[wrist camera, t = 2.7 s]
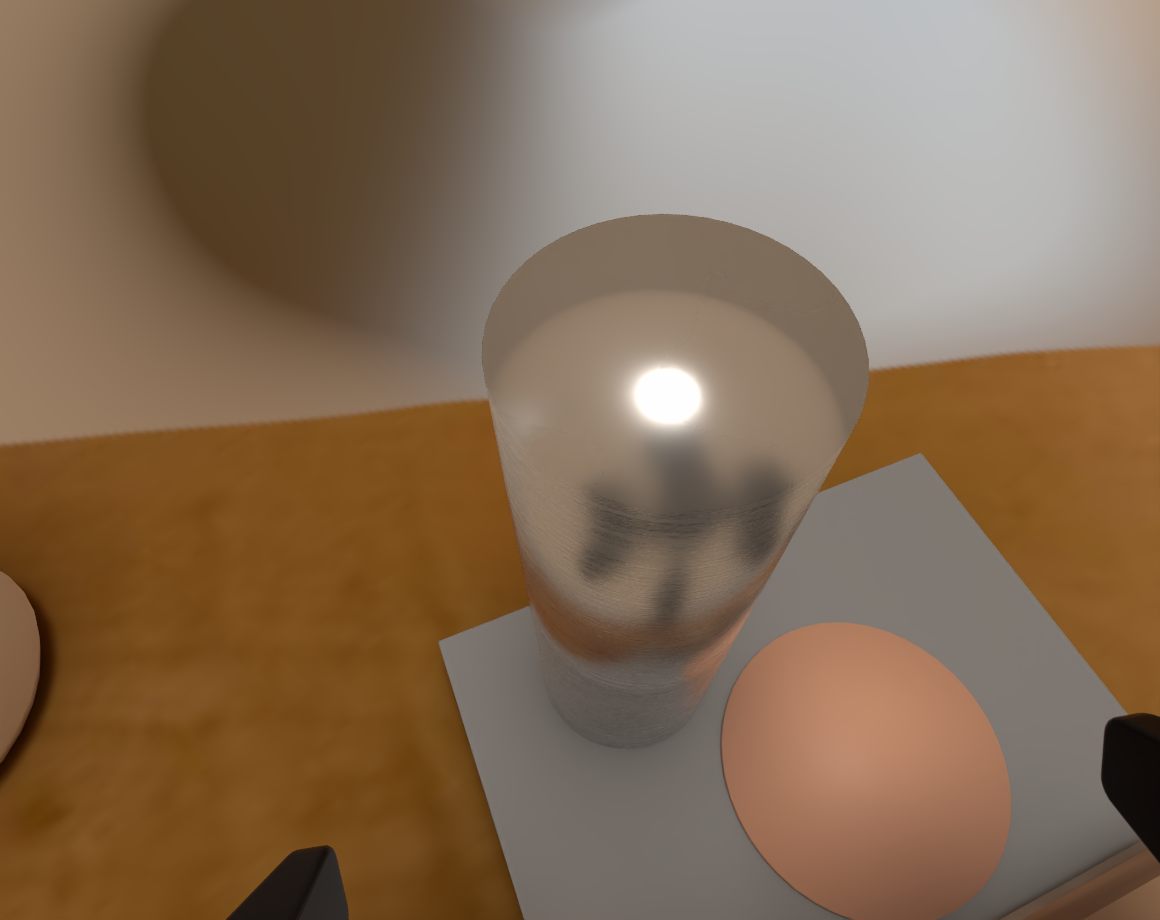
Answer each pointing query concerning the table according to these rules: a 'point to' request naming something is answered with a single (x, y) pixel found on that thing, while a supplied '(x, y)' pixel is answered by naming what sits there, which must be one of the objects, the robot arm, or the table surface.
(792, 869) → the slate board
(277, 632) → the table surface
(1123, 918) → the wooden toy car
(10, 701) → the alcohol
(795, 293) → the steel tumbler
